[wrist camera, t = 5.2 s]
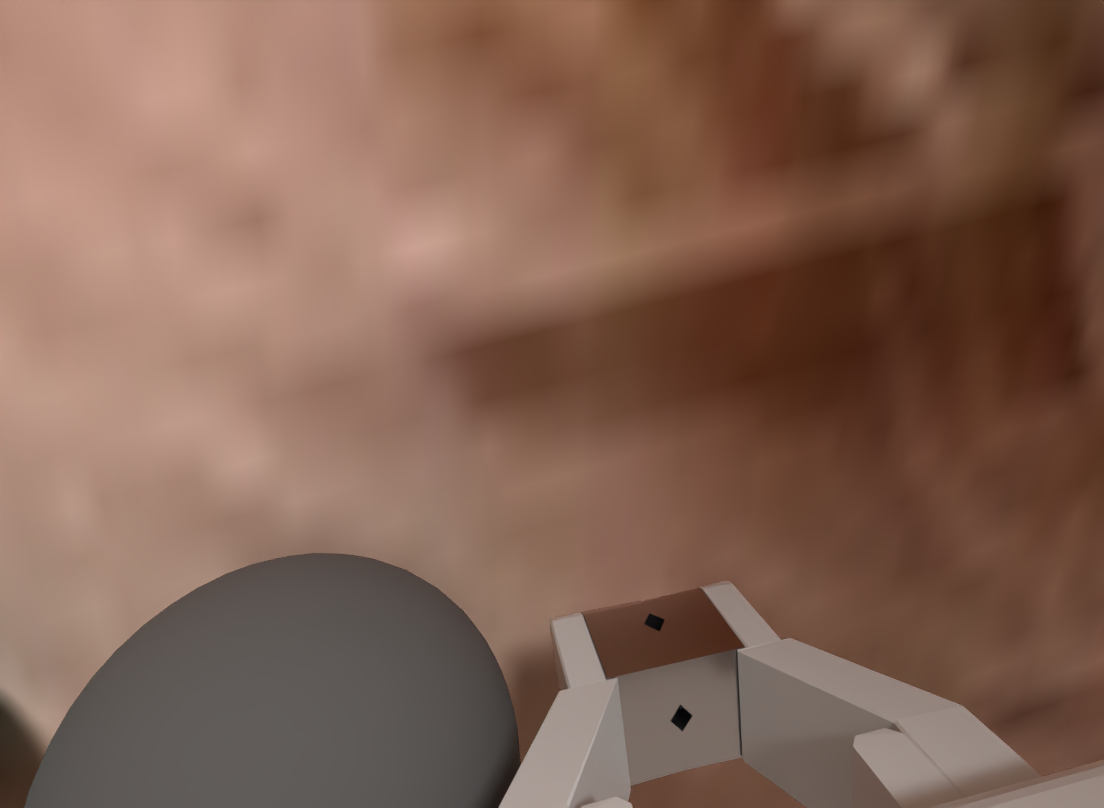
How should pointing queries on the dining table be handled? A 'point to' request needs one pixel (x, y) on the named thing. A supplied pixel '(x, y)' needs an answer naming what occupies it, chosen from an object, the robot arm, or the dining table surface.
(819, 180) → the dining table surface
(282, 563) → the dark grey ball
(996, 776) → the robot arm
